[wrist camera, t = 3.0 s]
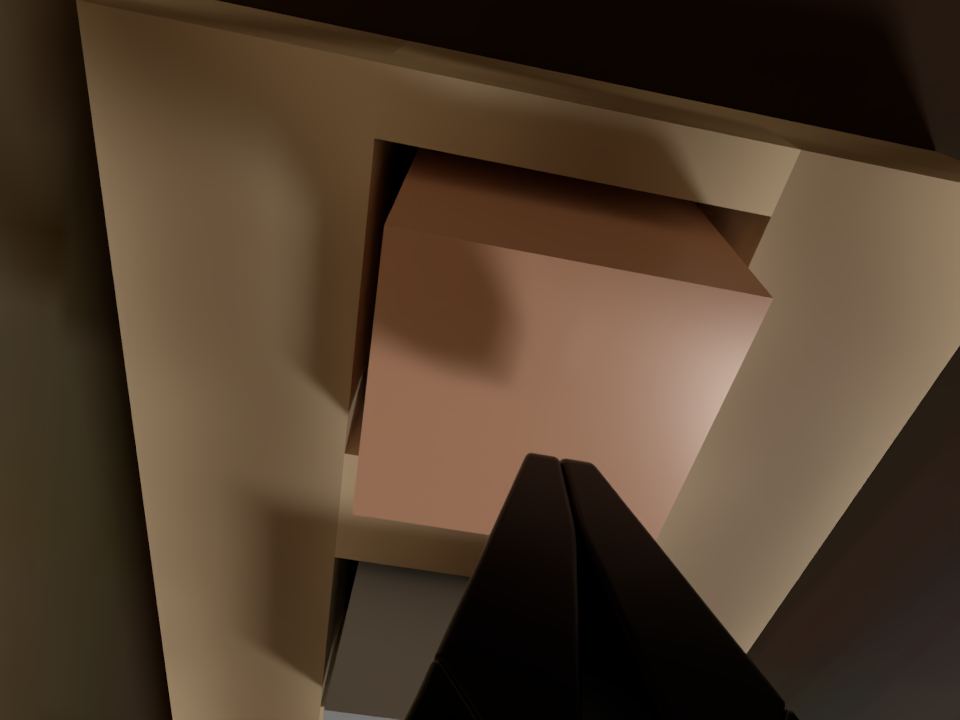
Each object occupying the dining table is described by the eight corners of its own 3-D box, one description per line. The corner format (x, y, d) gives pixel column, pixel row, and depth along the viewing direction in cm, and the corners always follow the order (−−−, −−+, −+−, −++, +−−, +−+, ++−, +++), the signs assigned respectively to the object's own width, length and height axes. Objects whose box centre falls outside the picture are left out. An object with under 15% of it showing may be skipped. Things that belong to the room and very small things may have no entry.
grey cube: (355, 631, 18) (311, 830, 14) (371, 510, 16) (323, 710, 12) (522, 654, 19) (529, 855, 15) (565, 539, 16) (589, 743, 12)
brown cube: (394, 354, 15) (352, 514, 10) (424, 133, 12) (383, 225, 8) (605, 390, 15) (647, 559, 11) (679, 183, 12) (773, 298, 8)
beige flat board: (222, 756, 24) (189, 848, 22) (176, -9, 11) (76, -1, 8) (573, 798, 25) (582, 891, 23) (937, 151, 12) (1058, 203, 9)
